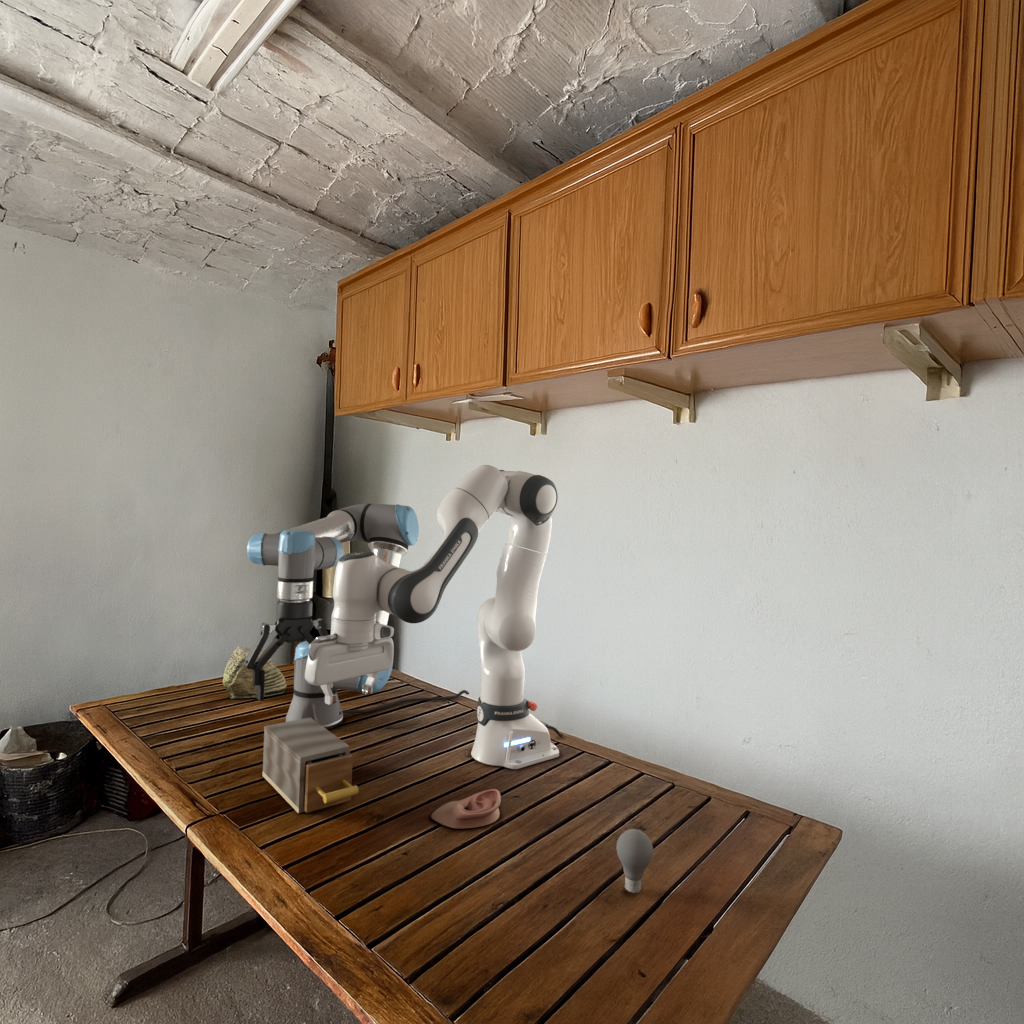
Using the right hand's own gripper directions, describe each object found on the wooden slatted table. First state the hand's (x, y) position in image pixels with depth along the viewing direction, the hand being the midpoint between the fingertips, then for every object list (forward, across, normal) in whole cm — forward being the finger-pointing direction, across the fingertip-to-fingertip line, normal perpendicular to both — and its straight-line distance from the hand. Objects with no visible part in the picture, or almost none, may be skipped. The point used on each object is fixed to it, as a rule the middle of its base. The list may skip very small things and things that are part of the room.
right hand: (349, 698), depth 130 cm
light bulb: (+22, +13, -59) cm, 64 cm away
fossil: (+23, +28, +77) cm, 85 cm away
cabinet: (+23, 0, +13) cm, 26 cm away
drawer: (+21, -1, +7) cm, 23 cm away
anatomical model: (+22, +14, -22) cm, 34 cm away
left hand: (+4, 0, +20) cm, 20 cm away
